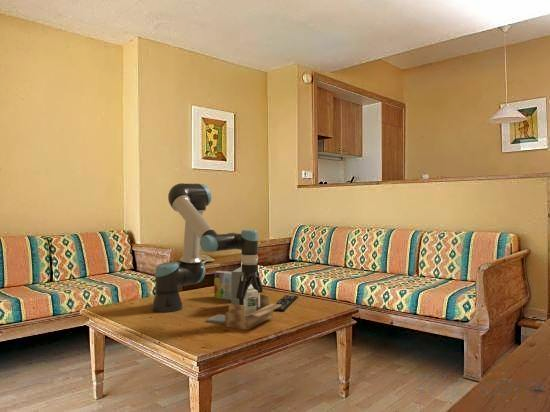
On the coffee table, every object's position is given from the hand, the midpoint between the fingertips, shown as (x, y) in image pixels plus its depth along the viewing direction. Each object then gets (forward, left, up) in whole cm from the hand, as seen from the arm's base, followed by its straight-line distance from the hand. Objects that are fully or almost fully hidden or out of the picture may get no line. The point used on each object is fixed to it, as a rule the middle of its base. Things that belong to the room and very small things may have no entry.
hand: (250, 309), depth 201 cm
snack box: (-32, +35, -6) cm, 48 cm away
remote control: (0, +37, -6) cm, 37 cm away
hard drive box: (-16, +20, -6) cm, 26 cm away
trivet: (-13, -4, -5) cm, 15 cm away
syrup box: (0, 0, -5) cm, 5 cm away
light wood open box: (+3, 0, -5) cm, 6 cm away
